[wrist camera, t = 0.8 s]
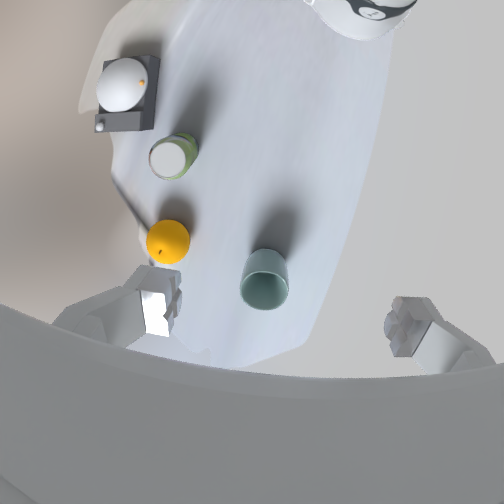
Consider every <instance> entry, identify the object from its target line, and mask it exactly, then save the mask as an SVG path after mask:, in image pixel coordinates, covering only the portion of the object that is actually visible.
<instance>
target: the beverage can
mask: <svg viewBox="0 0 504 504" xmlns="http://www.w3.org/2000/svg"><path fill="white" fill-rule="evenodd" d="M198 151H199V148H198V144H197V142H196V140H195V139H194V138H193V137H192V136H191V135H189V134H186V133H176V134H174V135H171V136H168V137H165V138H163V139H161V140H159V141H157V142H156V143H155V144H154V145H153V147H152V148H151V150H150V153H149V165H150V168H151V170H152V171H153V173H154V174H155V175H157V176H158V177H160V178H162V179H165V180H174V179H177V178H179V177H181V176H183V175H184V174H185V173H186V172H187V171H188V169H189V168H190V166H191V165H192V164H193V162H194V161H195V160H196V158H197V156H198Z"/></svg>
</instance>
